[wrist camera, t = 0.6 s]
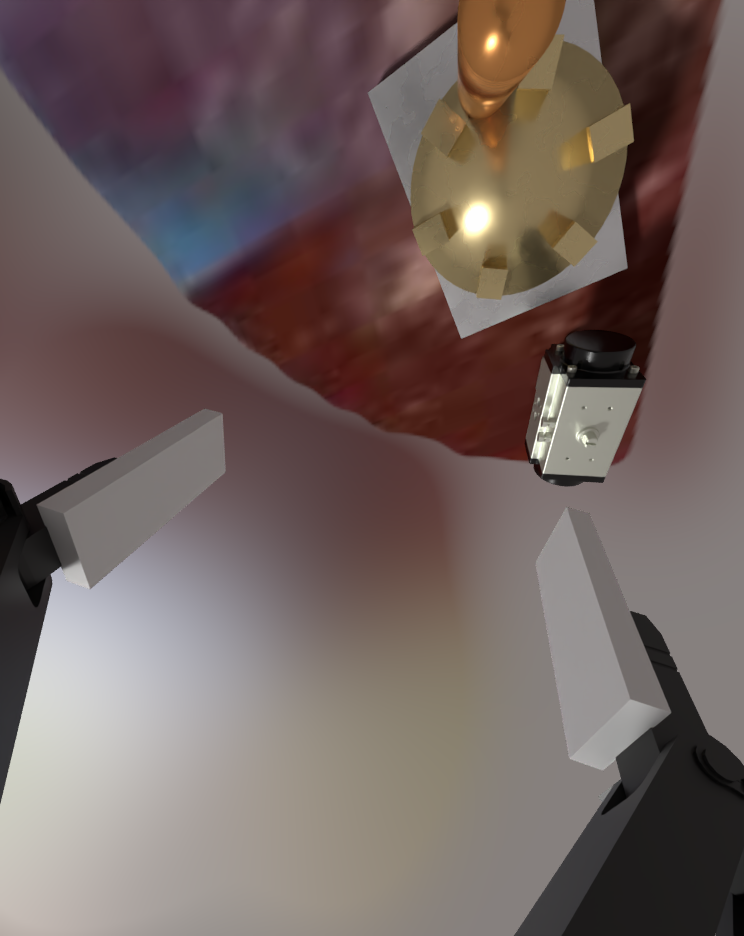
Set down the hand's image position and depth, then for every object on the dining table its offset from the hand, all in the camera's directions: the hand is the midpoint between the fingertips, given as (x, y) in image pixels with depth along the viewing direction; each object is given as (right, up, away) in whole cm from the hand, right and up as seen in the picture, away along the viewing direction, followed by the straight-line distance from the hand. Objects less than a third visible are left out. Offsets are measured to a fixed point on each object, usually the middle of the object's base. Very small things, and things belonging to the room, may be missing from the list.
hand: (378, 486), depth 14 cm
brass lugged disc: (+9, +21, +12) cm, 26 cm away
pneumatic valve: (+17, +10, +22) cm, 29 cm away
